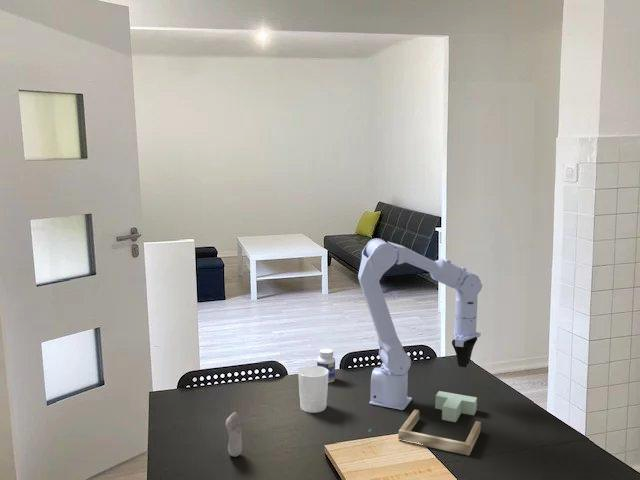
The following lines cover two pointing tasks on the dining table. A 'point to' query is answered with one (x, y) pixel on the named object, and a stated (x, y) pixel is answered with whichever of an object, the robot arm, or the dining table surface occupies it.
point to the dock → (435, 441)
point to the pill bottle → (327, 362)
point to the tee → (455, 405)
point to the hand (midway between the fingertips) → (463, 364)
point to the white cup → (313, 388)
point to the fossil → (234, 434)
